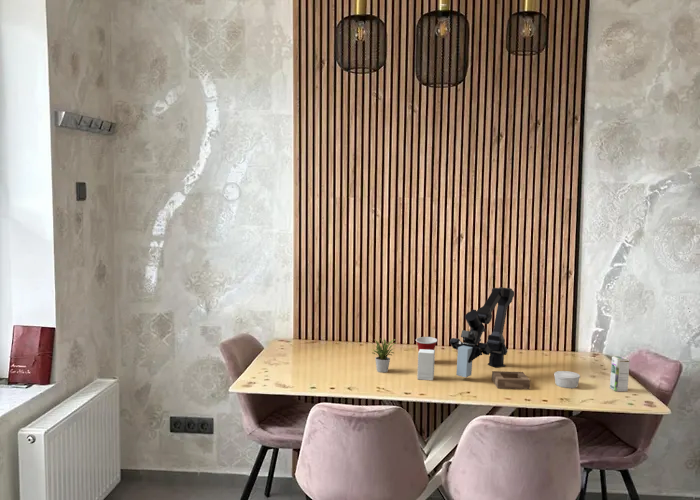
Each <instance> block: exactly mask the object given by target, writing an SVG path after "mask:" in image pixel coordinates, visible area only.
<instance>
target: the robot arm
mask: <svg viewBox="0 0 700 500" xmlns="http://www.w3.org/2000/svg"><path fill="white" fill-rule="evenodd" d="M514 297H515V291H514V290H513V289H512V288H510V287H500V286H499V287H493V288H492V289H491V292H490V294H489V296H488V298H487V299H486V301H485V302H484V305H483V306H482V307H479V308H478V309H471V310H470V311H468V312H467V313H466V314H465V315H464V319H465V321H466V323H467V325H468V326H469V328H470V329H469V330H464V329H463V330H461V334H460V338H461V339H462V341H461V339H460V338H456V337H452V338H450V340H449V344H450V345H451V348H452V349H454V350H456V351H458V347H460V346H463V345H464V346H469V347H473V351H472V353H471V355H470V357H469V360H468V363H470V362H471V361H472V362H473V361H474V360H475V359H477V358H478V357H480V356H483V355H484V356H488V357H489V359H488V363H487V365H488V366H491V367H493V368H501V367H507V366H506V364H505V363H504V362H505V361H504V359H505V358H504V357H505V356H506V355H507V353H508V348H507V346H506V344H505V342H506V340H505V337H504V329H505V323H506V317H507V312H508V307H509V305H510V304H512V302H513V298H514ZM495 307H497V308H496V314H495V319H494V325H493V331H492V332H491V334H488V336H487V341H486V342H482V339H481V338H482V335H483V333H486V326H485V325H489V324H490V323H491V321H492V319H493V314H492V313H493V311H494V309H495ZM484 324H485V325H484Z"/></svg>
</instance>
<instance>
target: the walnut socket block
mask: <svg viewBox="0 0 700 500" xmlns="http://www.w3.org/2000/svg"><path fill="white" fill-rule="evenodd" d="M491 381H492V382H493V384H494V385H495V386H496V389H500V390H501V389H504V390H505V389H506V390H530V389H531V379H530V378H529V377H528V376H527V374H525V373H524V372H523V371H504V370H503V371H501V370H500V371H499V370H498V371H497V370H496V371H495V370H493V371H491Z"/></svg>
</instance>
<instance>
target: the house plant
mask: <svg viewBox="0 0 700 500" xmlns="http://www.w3.org/2000/svg"><path fill="white" fill-rule="evenodd" d="M373 340H374V341H375V343H376V345H375V347H376V349H373V348H371V351H373V352H372V354H373V355H377V356H375V365H376V366H375V367H376V372H378V373H388V372H389V366H390V362H391V357H388V356H393V355H394V354H395V352H393V350H394V349H396V348H392V347H393V346H394V345H396V342H394V341H396V340H397V339H395V338H394V339H392V340H391V341H387V340H386V338H385V337H383V339H380V341H381V345H380V343H379V342H378V340H377V339H373ZM393 342H394V343H393ZM369 343H370V344H373V343H372V342H370V341H369ZM373 345H374V344H373ZM389 346H390V347H389ZM392 354H393V355H392Z"/></svg>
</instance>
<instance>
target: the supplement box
mask: <svg viewBox="0 0 700 500" xmlns="http://www.w3.org/2000/svg"><path fill="white" fill-rule="evenodd" d="M435 353H436V351H435V349H434V350H426V349H419V351H418V353H417V375H416V376H417V377H416V378H417V380H421V381H422V380H424V381H434V376H435V358H436V356H435Z"/></svg>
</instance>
